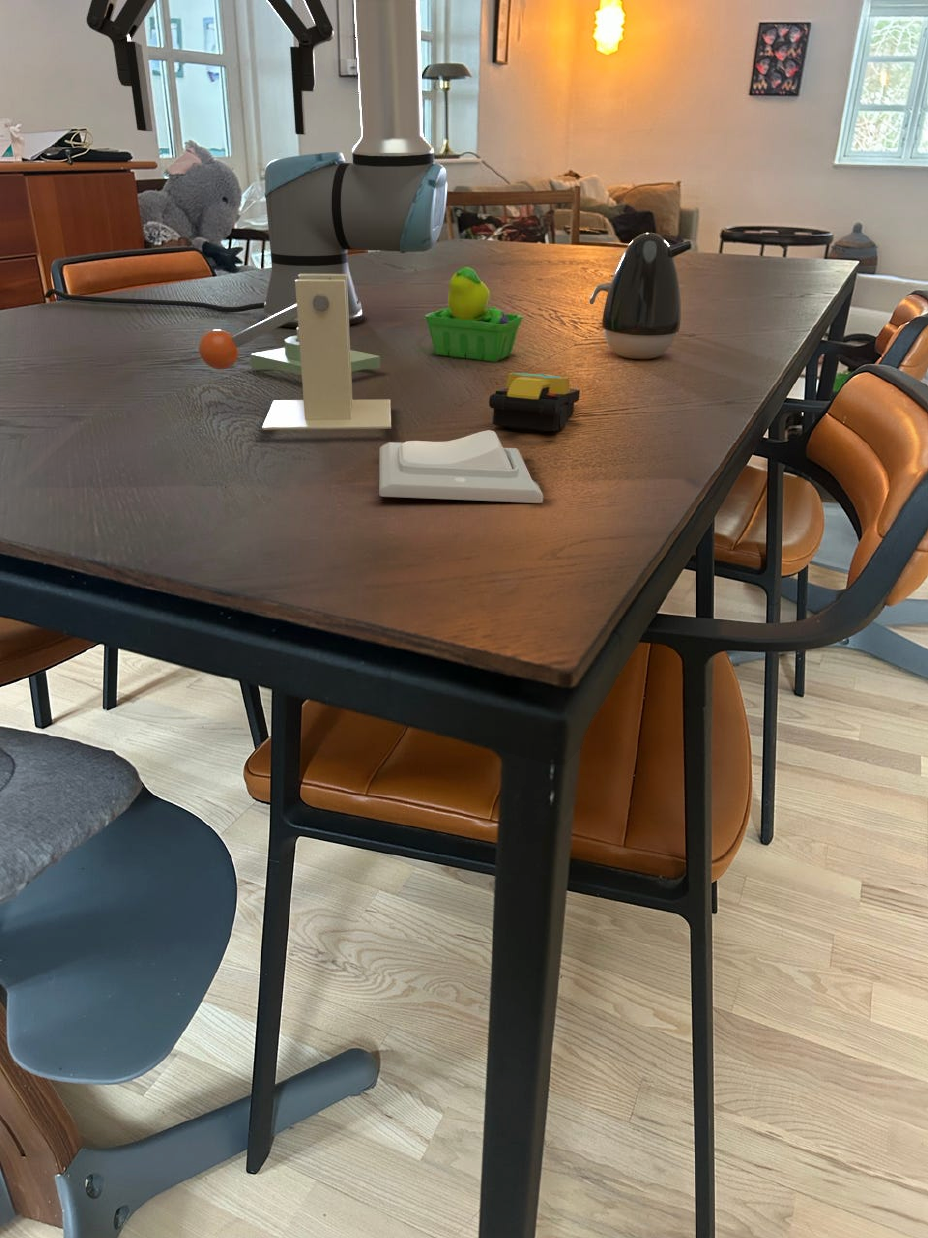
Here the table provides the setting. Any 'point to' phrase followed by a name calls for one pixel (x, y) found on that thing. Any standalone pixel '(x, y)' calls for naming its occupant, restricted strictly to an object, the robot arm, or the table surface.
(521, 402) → the gadget
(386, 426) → the bracket
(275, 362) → the button block
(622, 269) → the pump dispenser
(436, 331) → the fruit basket
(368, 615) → the table surface
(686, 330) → the table surface
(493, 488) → the light switch
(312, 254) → the robot arm
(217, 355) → the lever
